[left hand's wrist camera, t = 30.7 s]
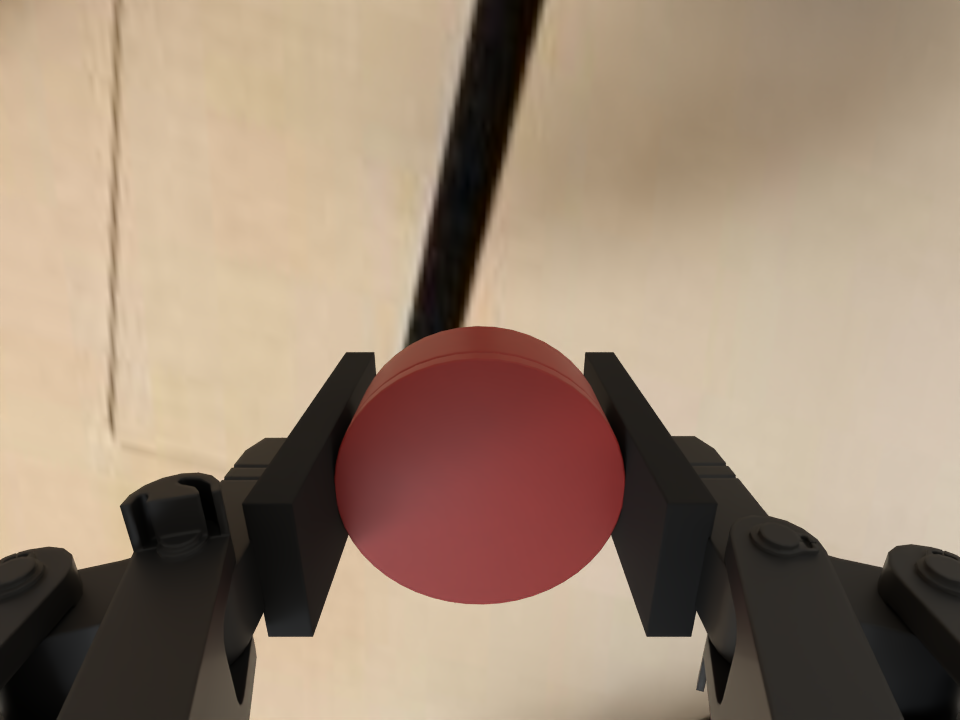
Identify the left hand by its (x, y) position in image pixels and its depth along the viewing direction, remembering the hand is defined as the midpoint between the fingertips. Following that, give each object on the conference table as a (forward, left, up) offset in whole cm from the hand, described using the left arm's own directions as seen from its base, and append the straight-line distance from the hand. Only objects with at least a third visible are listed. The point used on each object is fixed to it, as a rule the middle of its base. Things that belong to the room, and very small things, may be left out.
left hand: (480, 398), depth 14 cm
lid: (0, 0, +4) cm, 4 cm away
